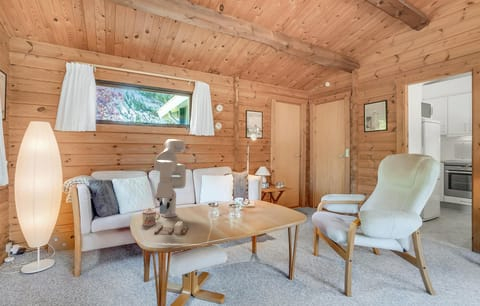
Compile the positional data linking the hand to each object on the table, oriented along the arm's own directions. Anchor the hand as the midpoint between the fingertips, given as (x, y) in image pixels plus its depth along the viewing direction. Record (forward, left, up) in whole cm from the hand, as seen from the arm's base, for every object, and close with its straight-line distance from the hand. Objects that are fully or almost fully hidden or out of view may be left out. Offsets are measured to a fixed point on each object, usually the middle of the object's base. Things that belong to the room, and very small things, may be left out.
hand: (164, 208), depth 155 cm
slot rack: (0, +5, -16) cm, 17 cm away
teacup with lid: (-17, -14, -16) cm, 27 cm away
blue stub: (0, 0, -3) cm, 3 cm away
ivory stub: (0, +10, -15) cm, 18 cm away
